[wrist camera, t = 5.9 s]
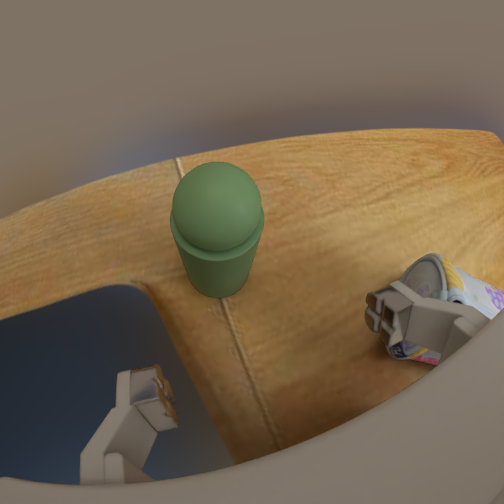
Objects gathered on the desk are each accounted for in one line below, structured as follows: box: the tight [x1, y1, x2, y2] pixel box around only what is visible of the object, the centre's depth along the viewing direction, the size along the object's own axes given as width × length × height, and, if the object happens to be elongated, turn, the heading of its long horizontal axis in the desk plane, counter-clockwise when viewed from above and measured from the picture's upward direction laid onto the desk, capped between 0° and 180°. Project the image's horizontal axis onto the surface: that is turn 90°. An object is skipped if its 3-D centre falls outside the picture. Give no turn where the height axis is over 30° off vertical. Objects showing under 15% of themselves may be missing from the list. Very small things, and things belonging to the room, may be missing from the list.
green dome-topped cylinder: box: [170, 162, 264, 298], centre depth 18 cm, size 5×5×12 cm
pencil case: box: [386, 253, 504, 366], centre depth 19 cm, size 21×9×10 cm, turn 70°
